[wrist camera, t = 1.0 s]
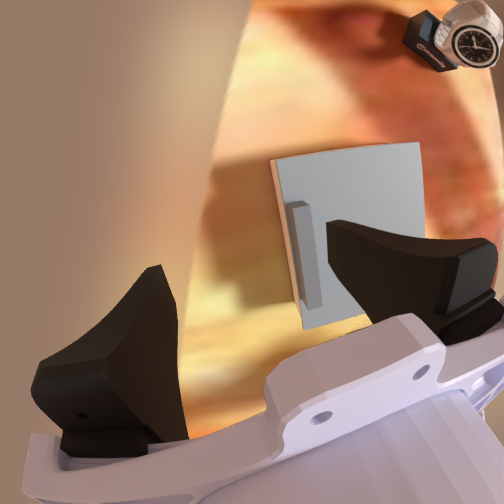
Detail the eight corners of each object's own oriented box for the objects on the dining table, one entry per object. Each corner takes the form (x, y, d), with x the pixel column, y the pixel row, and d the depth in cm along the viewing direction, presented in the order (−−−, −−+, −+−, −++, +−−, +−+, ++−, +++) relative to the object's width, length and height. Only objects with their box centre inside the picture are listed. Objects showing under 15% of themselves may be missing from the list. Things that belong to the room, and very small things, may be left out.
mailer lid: (419, 291, 25) (431, 302, 23) (302, 327, 25) (309, 342, 23) (415, 141, 20) (432, 142, 18) (274, 160, 20) (281, 161, 18)
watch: (397, 55, 21) (470, 28, 11) (413, 8, 19) (475, -22, 9) (436, 85, 23) (511, 76, 12) (449, 38, 20) (514, 20, 10)
